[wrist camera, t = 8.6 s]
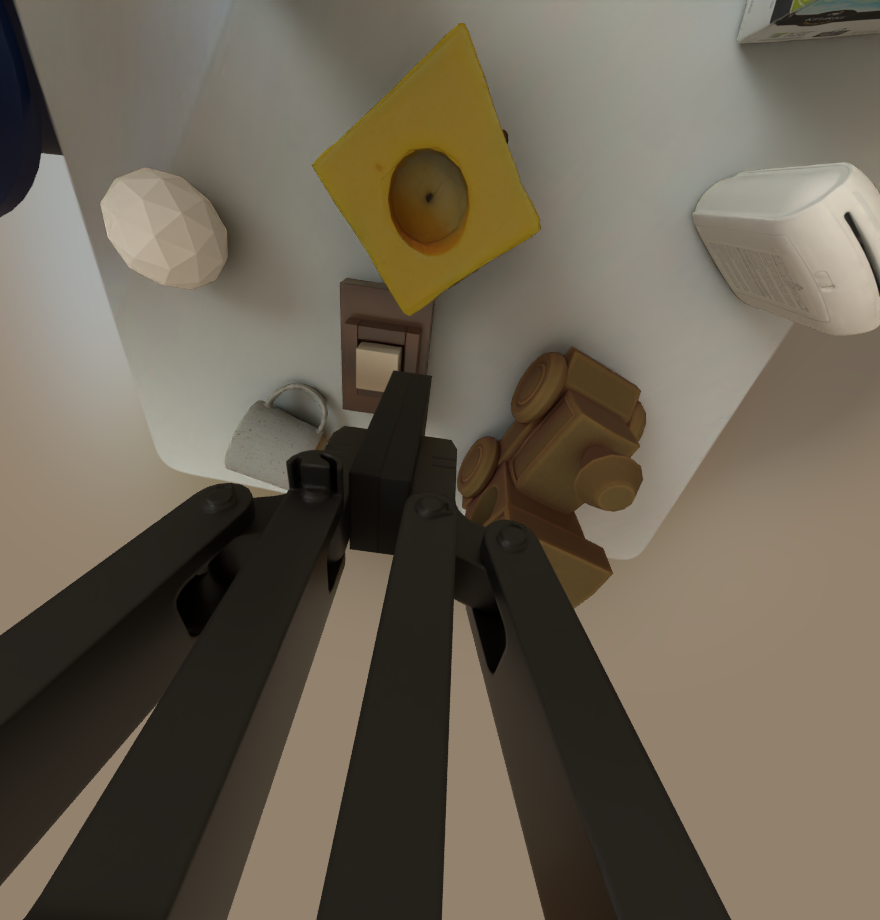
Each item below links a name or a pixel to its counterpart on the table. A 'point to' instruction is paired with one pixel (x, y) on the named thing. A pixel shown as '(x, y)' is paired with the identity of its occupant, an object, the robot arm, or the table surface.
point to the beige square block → (376, 365)
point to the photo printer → (799, 243)
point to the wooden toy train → (560, 462)
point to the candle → (430, 177)
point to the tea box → (807, 19)
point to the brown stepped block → (379, 335)
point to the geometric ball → (165, 228)
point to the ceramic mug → (273, 439)
